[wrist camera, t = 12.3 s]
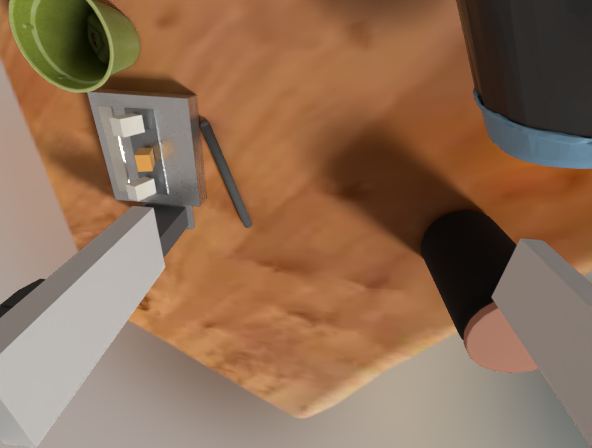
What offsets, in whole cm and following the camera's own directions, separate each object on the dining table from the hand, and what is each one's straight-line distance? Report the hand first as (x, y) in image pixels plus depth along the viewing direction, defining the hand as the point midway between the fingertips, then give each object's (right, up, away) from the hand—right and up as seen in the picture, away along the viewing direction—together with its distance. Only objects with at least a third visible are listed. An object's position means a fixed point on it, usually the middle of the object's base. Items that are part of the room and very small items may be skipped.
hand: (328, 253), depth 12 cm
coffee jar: (+22, -1, +34) cm, 41 cm away
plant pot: (-22, +23, +25) cm, 40 cm away
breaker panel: (-20, +12, +31) cm, 38 cm away
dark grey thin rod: (-11, +8, +32) cm, 35 cm away
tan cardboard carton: (-20, +10, +28) cm, 36 cm away
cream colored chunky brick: (-20, +13, +26) cm, 35 cm away
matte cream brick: (-20, +6, +30) cm, 37 cm away
